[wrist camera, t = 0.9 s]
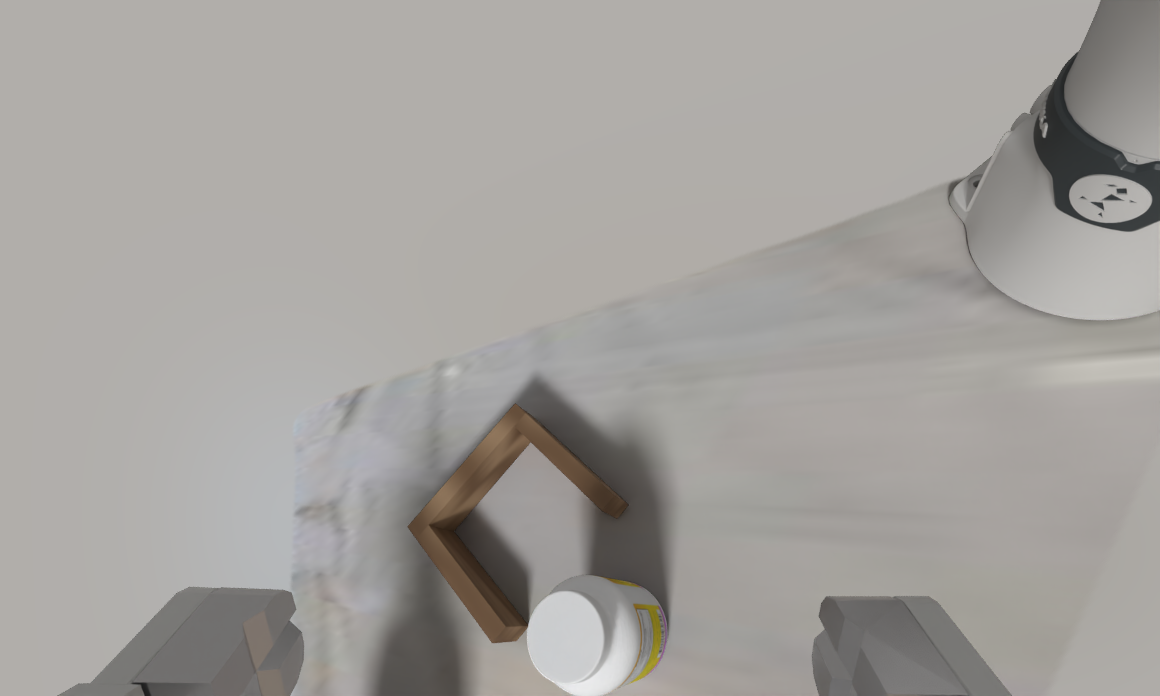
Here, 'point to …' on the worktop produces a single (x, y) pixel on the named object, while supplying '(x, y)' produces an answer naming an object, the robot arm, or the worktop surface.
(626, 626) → the supplement bottle
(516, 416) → the corral
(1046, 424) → the worktop surface
